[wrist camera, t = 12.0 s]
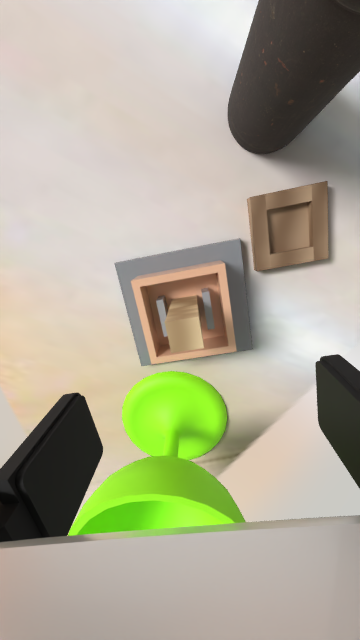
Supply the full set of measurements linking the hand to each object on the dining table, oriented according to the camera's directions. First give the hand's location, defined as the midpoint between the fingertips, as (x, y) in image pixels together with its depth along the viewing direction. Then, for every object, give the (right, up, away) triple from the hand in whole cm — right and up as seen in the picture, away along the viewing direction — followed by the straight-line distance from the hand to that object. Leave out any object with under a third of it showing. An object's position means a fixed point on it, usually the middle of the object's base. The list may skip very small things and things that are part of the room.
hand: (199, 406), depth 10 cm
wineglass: (-2, -11, +28) cm, 30 cm away
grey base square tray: (0, +5, +22) cm, 23 cm away
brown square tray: (+11, +14, +19) cm, 26 cm away
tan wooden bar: (0, +5, +21) cm, 21 cm away
